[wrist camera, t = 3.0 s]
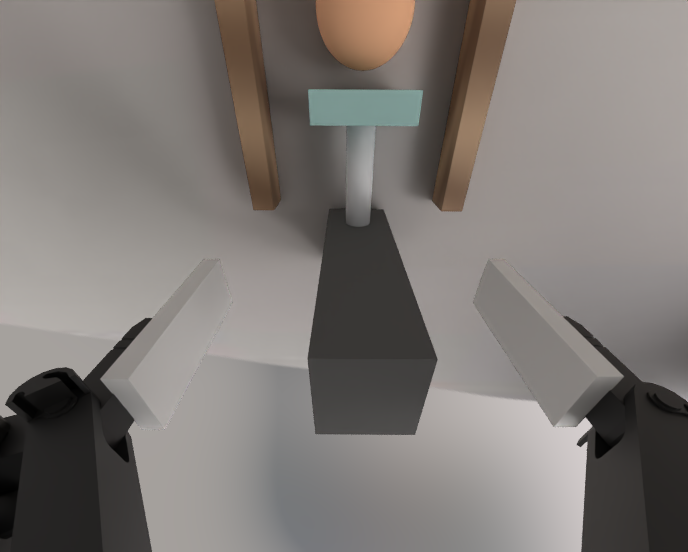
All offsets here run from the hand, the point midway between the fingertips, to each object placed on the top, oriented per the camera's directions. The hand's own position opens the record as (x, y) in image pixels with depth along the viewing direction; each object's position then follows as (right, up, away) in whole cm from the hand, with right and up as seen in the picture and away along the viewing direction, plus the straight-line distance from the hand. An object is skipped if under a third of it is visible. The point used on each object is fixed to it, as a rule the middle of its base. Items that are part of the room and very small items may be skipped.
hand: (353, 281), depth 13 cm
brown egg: (0, +11, -3) cm, 12 cm away
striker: (0, +6, +3) cm, 6 cm away
